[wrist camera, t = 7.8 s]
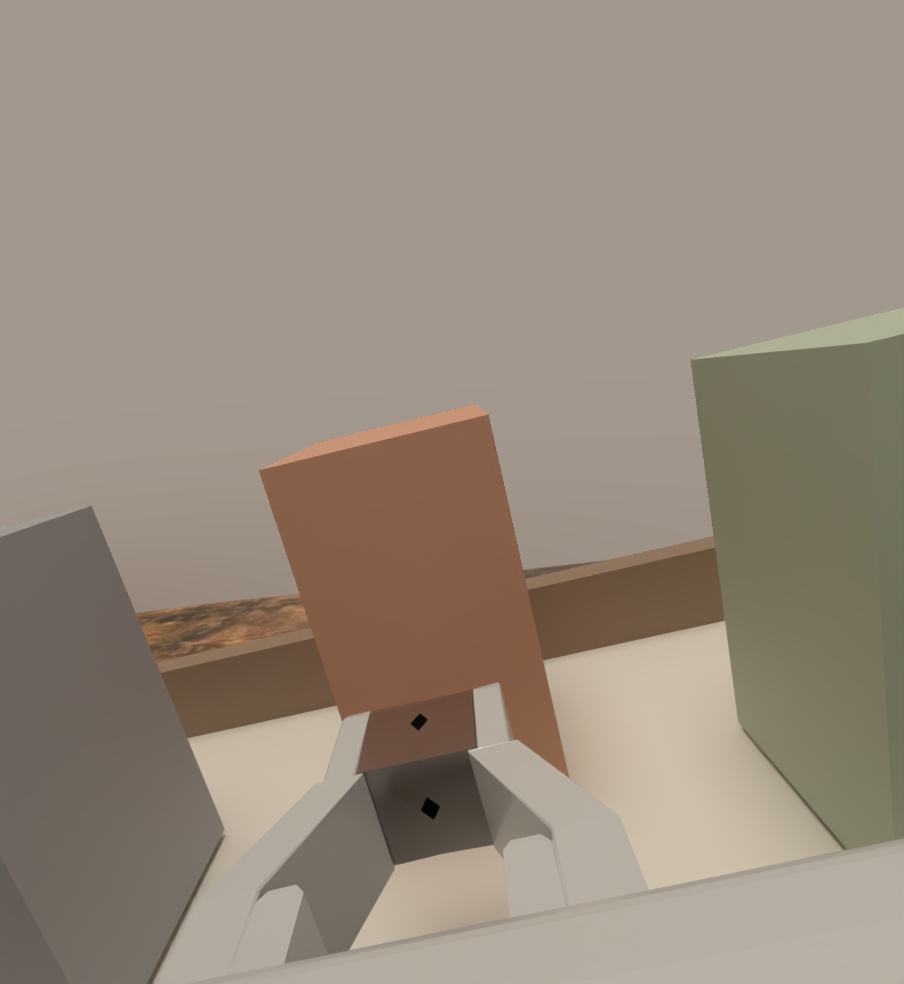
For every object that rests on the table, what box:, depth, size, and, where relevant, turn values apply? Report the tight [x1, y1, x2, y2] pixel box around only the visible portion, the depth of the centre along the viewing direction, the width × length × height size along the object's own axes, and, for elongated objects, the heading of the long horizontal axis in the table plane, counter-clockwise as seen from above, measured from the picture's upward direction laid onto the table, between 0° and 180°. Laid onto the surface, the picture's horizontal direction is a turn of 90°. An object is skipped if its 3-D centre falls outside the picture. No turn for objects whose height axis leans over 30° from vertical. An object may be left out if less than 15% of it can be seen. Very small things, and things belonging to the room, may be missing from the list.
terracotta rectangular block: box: [259, 404, 569, 778], centre depth 14 cm, size 5×5×10 cm
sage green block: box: [691, 308, 904, 849], centre depth 10 cm, size 5×5×10 cm
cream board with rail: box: [147, 536, 847, 984], centre depth 12 cm, size 28×19×4 cm
